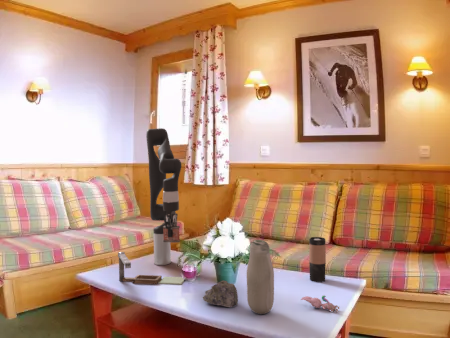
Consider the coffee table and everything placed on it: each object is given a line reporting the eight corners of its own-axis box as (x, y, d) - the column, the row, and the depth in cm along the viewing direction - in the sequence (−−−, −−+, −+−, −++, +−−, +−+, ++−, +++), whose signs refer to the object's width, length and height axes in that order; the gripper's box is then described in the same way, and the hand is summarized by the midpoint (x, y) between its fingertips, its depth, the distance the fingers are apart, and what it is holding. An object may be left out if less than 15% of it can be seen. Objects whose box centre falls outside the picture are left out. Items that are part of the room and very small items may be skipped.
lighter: (180, 241, 197) (180, 220, 196) (179, 242, 193) (178, 221, 193) (164, 240, 197) (163, 220, 197) (162, 242, 194) (162, 221, 194)
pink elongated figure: (339, 312, 160) (302, 300, 167) (341, 298, 159) (305, 286, 166) (335, 318, 154) (297, 305, 161) (338, 303, 153) (300, 291, 160)
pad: (164, 277, 201) (164, 276, 201) (186, 278, 200) (186, 277, 200) (158, 283, 193) (158, 282, 193) (181, 284, 191) (181, 283, 191)
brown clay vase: (278, 311, 158) (278, 239, 156) (262, 319, 150) (262, 244, 149) (258, 305, 164) (257, 236, 163) (242, 313, 156) (241, 240, 155)
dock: (122, 278, 202) (122, 255, 201) (161, 279, 199) (161, 256, 198) (116, 282, 195) (115, 259, 195) (156, 284, 192) (156, 260, 191)
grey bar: (124, 256, 200) (124, 251, 200) (131, 267, 181) (131, 261, 181) (117, 257, 199) (117, 252, 199) (124, 268, 180) (124, 262, 180)
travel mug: (328, 281, 193) (328, 239, 192) (315, 283, 190) (315, 240, 189) (319, 276, 200) (319, 236, 199) (306, 278, 197) (306, 237, 197)
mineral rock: (201, 303, 167) (200, 279, 167) (221, 296, 174) (220, 273, 174) (222, 312, 158) (221, 286, 157) (241, 305, 165) (241, 280, 164)
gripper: (167, 198, 202) (168, 233, 203) (158, 202, 188) (159, 239, 189) (182, 198, 201) (183, 233, 201) (174, 202, 187) (174, 239, 188)
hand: (171, 236), depth 195 cm, fingers closed on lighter, 3 cm apart
